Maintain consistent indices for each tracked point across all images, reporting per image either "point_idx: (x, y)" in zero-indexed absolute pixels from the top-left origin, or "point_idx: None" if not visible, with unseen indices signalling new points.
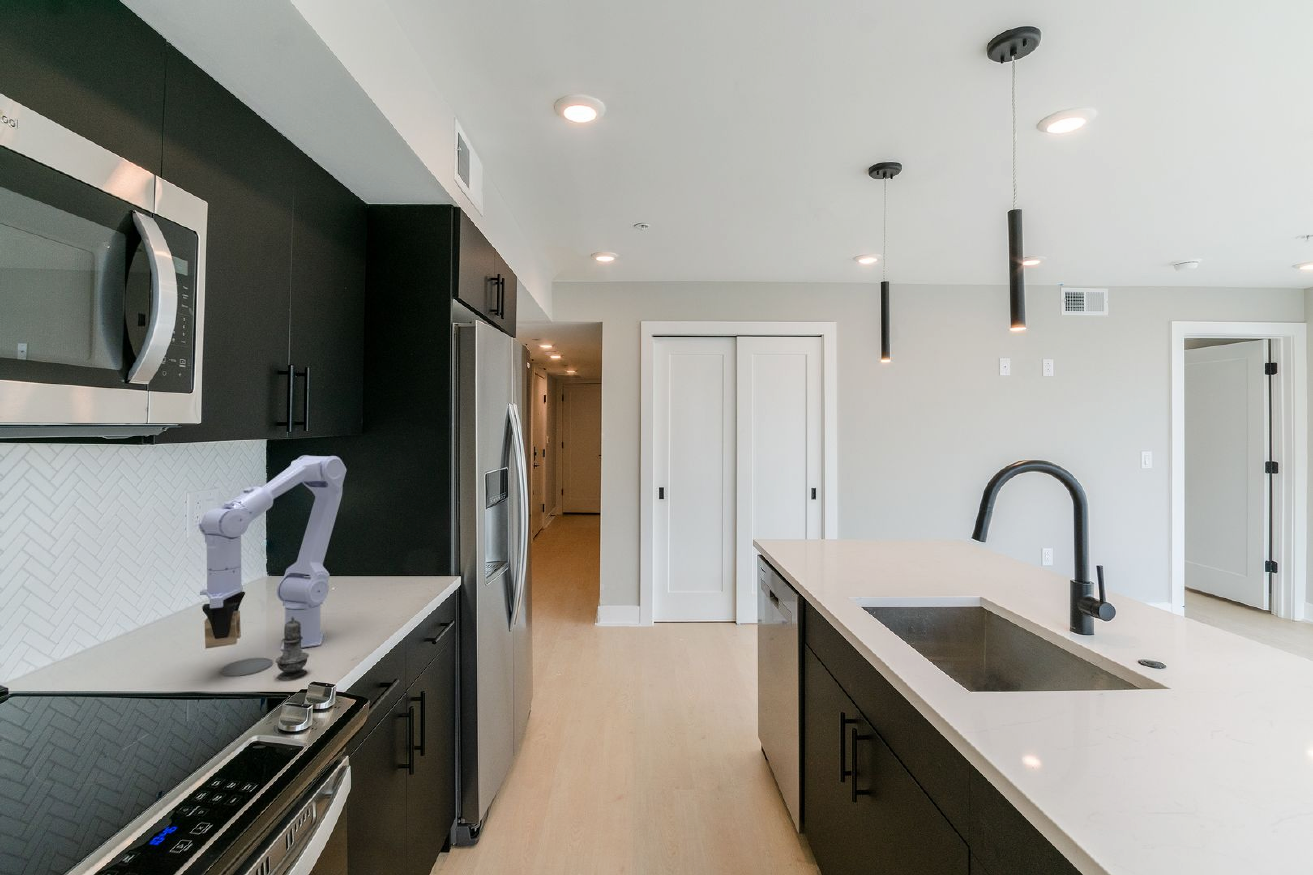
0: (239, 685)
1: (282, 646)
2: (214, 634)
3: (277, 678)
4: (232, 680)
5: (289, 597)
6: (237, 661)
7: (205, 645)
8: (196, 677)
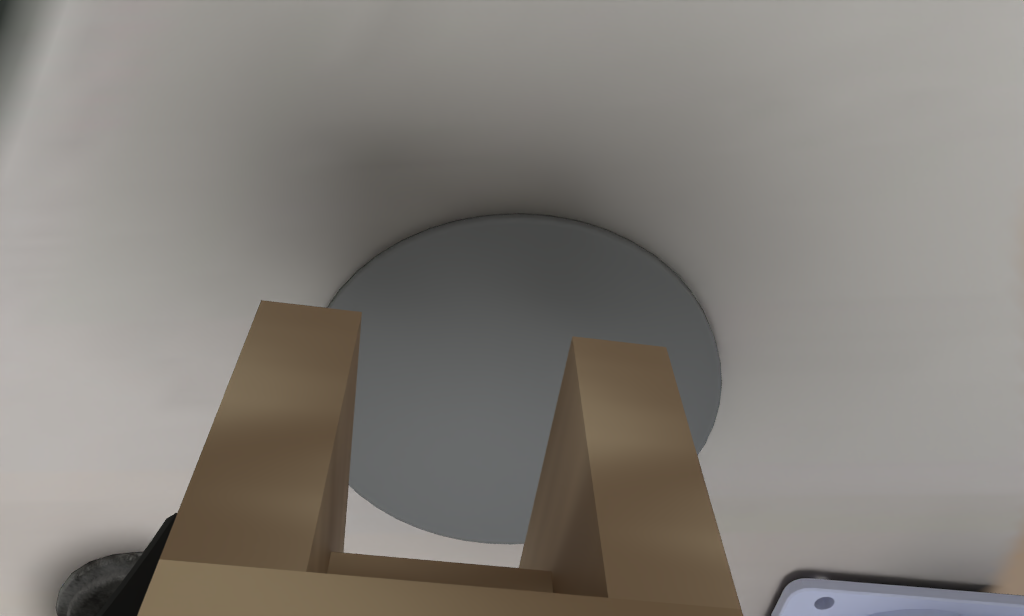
0: (60, 356)
1: (840, 597)
2: (134, 574)
3: (120, 555)
4: (218, 307)
5: None
6: (703, 337)
7: (251, 331)
8: (486, 7)
